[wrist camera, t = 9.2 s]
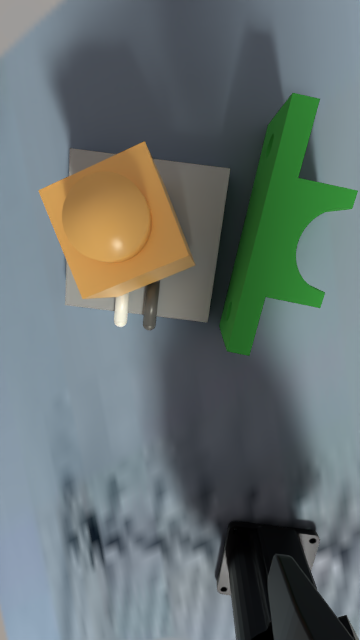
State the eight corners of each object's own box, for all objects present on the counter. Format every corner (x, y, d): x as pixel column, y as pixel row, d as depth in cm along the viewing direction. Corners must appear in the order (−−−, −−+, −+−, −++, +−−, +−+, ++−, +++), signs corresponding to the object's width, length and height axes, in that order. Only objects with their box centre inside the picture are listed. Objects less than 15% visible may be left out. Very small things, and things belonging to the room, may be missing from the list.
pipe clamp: (277, 336, 21) (301, 367, 16) (218, 324, 21) (226, 352, 16) (336, 139, 18) (385, 111, 13) (267, 124, 18) (293, 91, 13)
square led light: (195, 265, 17) (186, 252, 11) (117, 296, 18) (71, 299, 12) (163, 183, 17) (138, 127, 11) (86, 218, 17) (23, 181, 12)
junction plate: (204, 327, 20) (209, 358, 16) (73, 311, 20) (37, 337, 16) (227, 173, 18) (241, 153, 13) (79, 154, 18) (39, 128, 13)
